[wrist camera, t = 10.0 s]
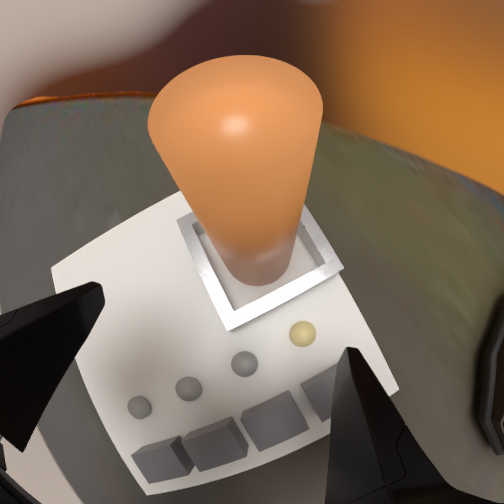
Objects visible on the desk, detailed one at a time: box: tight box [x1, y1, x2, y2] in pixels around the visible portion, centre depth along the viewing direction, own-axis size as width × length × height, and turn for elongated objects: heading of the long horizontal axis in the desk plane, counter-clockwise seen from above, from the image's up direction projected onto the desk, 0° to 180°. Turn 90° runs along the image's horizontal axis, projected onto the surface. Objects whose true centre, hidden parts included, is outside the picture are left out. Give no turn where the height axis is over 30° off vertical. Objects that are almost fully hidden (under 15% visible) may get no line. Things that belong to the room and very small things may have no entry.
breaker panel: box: [51, 191, 399, 495], centre depth 17 cm, size 20×20×3 cm
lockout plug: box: [148, 55, 323, 286], centre depth 12 cm, size 4×4×13 cm
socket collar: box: [176, 204, 344, 331], centre depth 18 cm, size 8×8×2 cm
